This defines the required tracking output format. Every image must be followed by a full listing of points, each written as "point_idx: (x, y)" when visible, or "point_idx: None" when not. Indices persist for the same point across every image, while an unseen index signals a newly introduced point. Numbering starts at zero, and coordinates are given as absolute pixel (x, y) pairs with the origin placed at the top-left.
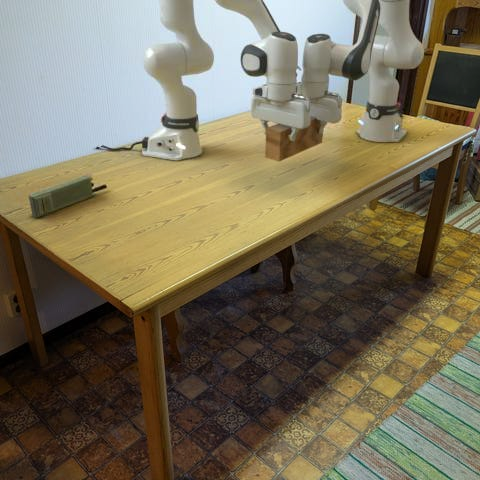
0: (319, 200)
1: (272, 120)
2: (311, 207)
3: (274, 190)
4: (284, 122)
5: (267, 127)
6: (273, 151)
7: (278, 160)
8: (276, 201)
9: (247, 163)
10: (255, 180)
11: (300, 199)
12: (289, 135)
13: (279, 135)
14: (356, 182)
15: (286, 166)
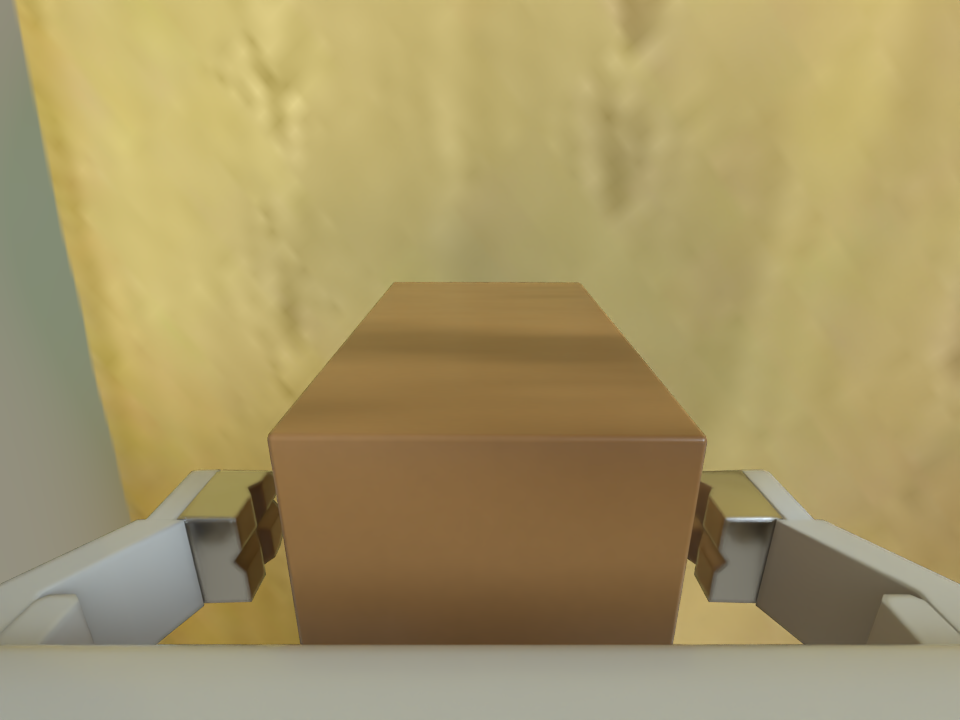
0: (162, 305)
1: (636, 681)
2: (115, 183)
3: (455, 238)
4: (130, 704)
5: (694, 479)
6: (469, 304)
7: (400, 283)
8: (328, 95)
9: (849, 467)
10: (653, 286)
11: (245, 237)
12: (208, 513)
13: (325, 396)
14: (209, 612)
15: None
